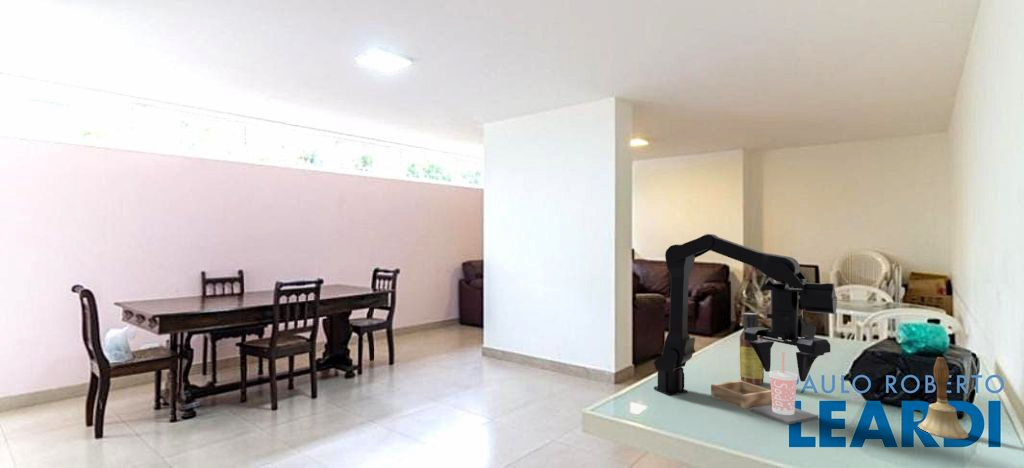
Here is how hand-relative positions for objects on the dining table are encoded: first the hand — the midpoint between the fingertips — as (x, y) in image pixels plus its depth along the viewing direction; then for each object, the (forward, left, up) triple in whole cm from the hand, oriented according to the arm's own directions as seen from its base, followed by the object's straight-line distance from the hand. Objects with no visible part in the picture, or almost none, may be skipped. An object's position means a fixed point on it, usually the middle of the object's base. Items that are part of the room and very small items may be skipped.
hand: (784, 376), depth 119 cm
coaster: (0, 0, -9) cm, 9 cm away
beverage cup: (0, 0, -9) cm, 9 cm away
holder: (0, +12, -9) cm, 15 cm away
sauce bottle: (+15, +22, -9) cm, 28 cm away
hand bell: (+22, -21, -9) cm, 32 cm away
